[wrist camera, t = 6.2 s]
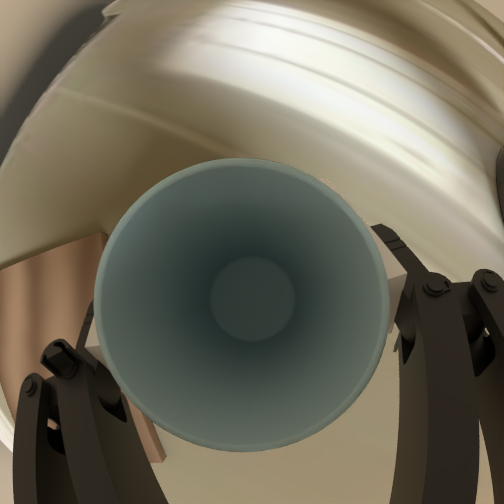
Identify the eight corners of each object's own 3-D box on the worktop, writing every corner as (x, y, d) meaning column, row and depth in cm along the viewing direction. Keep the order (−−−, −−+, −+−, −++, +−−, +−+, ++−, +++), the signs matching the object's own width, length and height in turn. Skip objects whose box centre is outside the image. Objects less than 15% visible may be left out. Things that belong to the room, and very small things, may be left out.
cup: (306, 368, 16) (356, 460, 6) (183, 350, 16) (88, 411, 6) (323, 246, 17) (398, 183, 7) (200, 230, 17) (123, 153, 7)
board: (107, 234, 18) (100, 231, 17) (166, 456, 16) (162, 463, 15) (-12, 279, 18) (-19, 278, 17) (28, 439, 16) (23, 442, 15)
